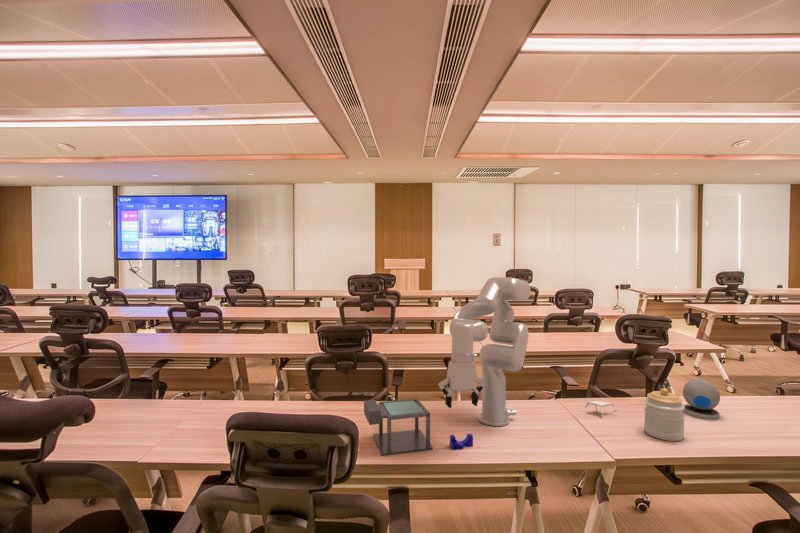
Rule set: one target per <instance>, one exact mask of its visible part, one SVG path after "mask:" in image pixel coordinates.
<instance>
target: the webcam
mask: <svg viewBox="0 0 800 533" xmlns="http://www.w3.org/2000/svg"><path fill="white" fill-rule="evenodd" d="M682 395H683V398H684V400H685V402H686V403H687V404H685V405H684V404H683V405H684V406H685V409H684V410H683V414H684V415H687V416H690V417H692V418H696V419H699V420H700V419H701V420H707V421H710V420H712V421H714V420H716V421H717V420H718V419H720V417H721V416H720V412H719V411H717V410H716V409H715V408H716V407H718V405H719V403H720V400H721V394H720V391H719V390H718V388H717V387H716V386H715V385H714V383H712V382H710V381H709V380H706V379H702V378H694V379H691V380H689V381H687V382H686V383H685V384H684V385H683V388H682Z"/></svg>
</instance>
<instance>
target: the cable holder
mask: <svg viewBox="0 0 800 533" xmlns="http://www.w3.org/2000/svg"><path fill="white" fill-rule="evenodd" d="M449 447H450V449H451V450H452V451H457V450H459V451H460V450H464V448H467V447H468V448H470V447H474V436H473V434H472V433H467V434H466V437H465V438H464V439H463V440H457V439H456V436H455V435H454V434H449Z"/></svg>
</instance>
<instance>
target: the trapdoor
mask: <svg viewBox="0 0 800 533" xmlns="http://www.w3.org/2000/svg"><path fill="white" fill-rule="evenodd" d="M363 413H364V416H365V418H366V420H367V423H368V425H369V426H373V425H374V426H375V425H379V424H381V419H383V420H384V419H387V416H396V415H405V414H415V413H424V412H423V410H422V409H421V408H420V407H419V406H418V405H417V404H416V402H415V401H414V400H413V401H402V402H391V403H383V405H382V404H379V403H377V401H376V400H375V399H367V400H363Z"/></svg>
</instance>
